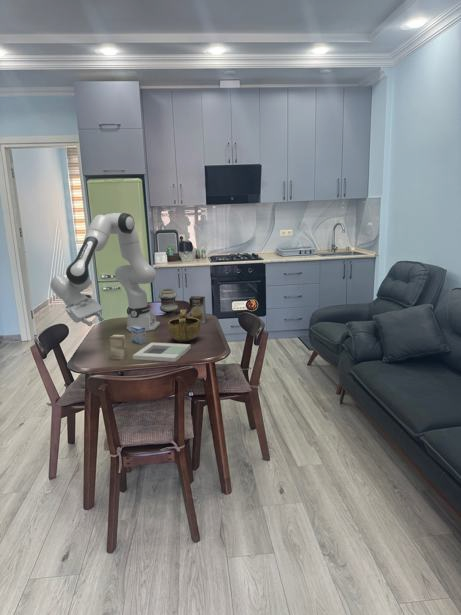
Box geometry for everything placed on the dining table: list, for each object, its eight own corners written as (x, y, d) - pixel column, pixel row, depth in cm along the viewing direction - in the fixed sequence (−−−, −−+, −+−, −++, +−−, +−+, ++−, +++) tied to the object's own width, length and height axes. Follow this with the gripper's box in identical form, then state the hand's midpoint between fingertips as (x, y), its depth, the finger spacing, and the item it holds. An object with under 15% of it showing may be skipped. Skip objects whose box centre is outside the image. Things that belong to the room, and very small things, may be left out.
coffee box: (190, 323, 260) (188, 298, 257) (192, 320, 267) (190, 296, 263) (204, 323, 259) (203, 298, 255) (206, 320, 265) (205, 296, 262)
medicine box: (131, 342, 228) (130, 326, 226) (138, 340, 231) (137, 325, 229) (139, 344, 223) (138, 329, 221) (146, 342, 226) (145, 327, 224)
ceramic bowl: (170, 335, 237) (168, 309, 234) (200, 333, 238) (199, 308, 235) (168, 347, 215) (165, 319, 212) (201, 345, 216) (199, 317, 213)
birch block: (116, 355, 207) (113, 334, 204) (127, 356, 205) (124, 335, 202) (111, 358, 203) (109, 337, 200) (122, 359, 201) (120, 337, 199)
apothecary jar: (161, 318, 276) (159, 292, 272) (159, 314, 287) (157, 288, 283) (179, 316, 278) (177, 290, 274) (177, 312, 290) (175, 287, 286)
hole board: (151, 346, 219) (151, 341, 219) (190, 348, 213) (190, 343, 213) (133, 359, 201) (132, 354, 200) (175, 361, 195) (175, 357, 194)
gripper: (66, 302, 192) (87, 324, 192) (92, 294, 212) (111, 313, 211) (59, 312, 195) (80, 333, 194) (86, 302, 214) (104, 321, 213)
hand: (96, 322), depth 203 cm, fingers open, 8 cm apart
